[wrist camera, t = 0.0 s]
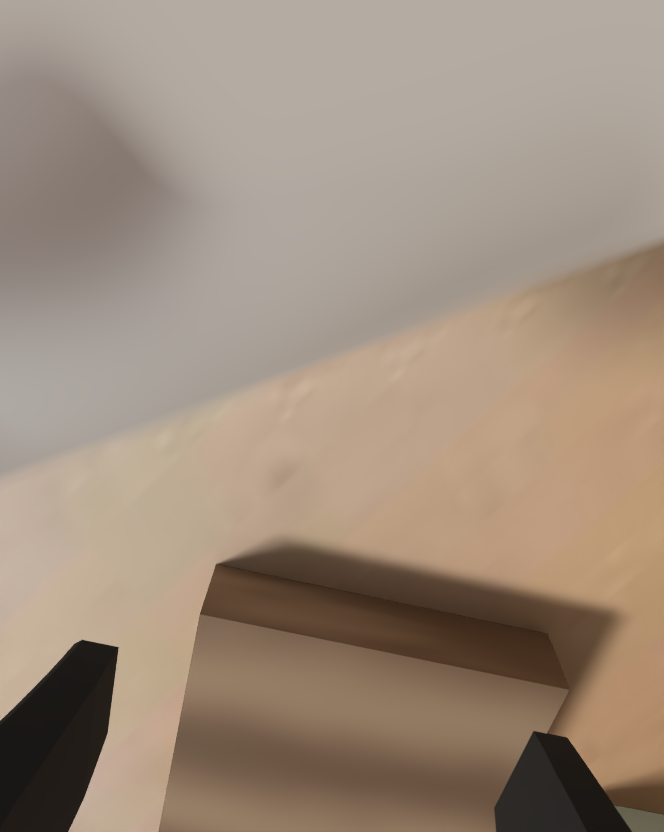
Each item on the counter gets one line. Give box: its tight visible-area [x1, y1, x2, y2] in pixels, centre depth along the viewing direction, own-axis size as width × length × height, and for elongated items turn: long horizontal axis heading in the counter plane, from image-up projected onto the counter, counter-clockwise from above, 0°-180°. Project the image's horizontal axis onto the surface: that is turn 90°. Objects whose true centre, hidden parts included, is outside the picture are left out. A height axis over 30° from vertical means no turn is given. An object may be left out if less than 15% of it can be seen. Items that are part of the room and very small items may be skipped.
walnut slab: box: [159, 564, 569, 832], centre depth 24 cm, size 12×12×3 cm
